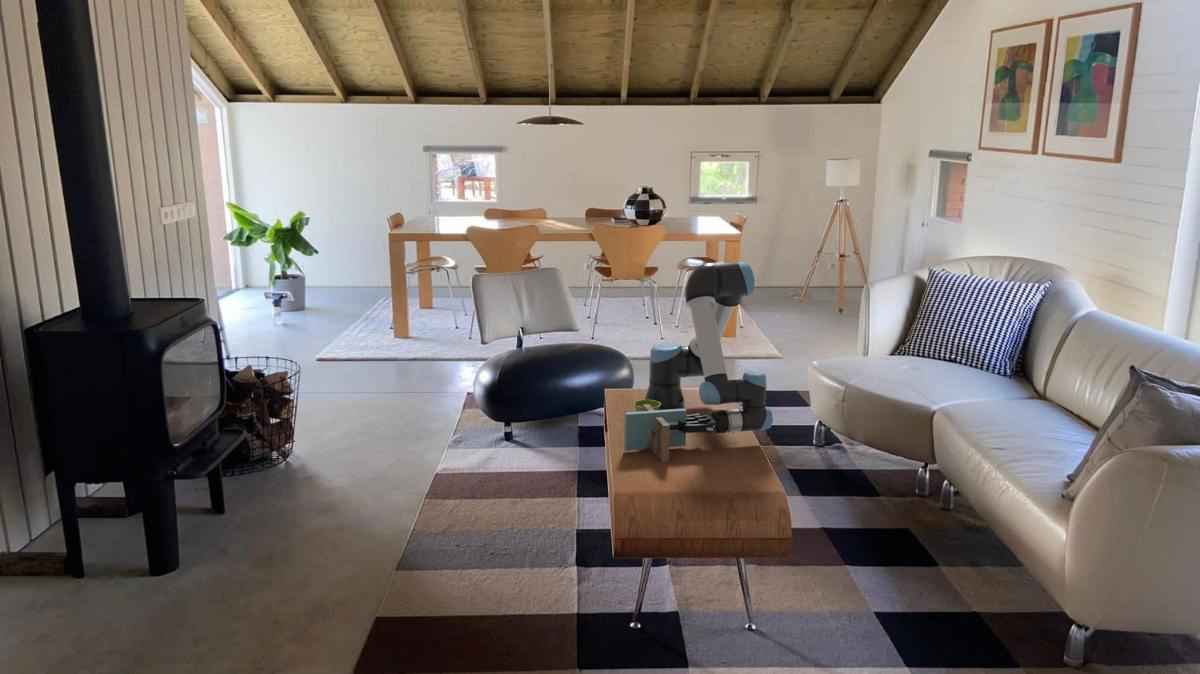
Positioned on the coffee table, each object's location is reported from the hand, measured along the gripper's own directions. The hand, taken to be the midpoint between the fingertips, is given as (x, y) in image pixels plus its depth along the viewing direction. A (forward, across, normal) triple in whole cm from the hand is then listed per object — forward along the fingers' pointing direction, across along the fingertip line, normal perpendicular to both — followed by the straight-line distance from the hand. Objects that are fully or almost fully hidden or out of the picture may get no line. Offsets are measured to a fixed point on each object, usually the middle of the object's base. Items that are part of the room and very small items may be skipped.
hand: (656, 426), depth 268 cm
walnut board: (0, 0, -8) cm, 8 cm away
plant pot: (-4, +22, -8) cm, 24 cm away
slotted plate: (0, 0, -7) cm, 7 cm away
